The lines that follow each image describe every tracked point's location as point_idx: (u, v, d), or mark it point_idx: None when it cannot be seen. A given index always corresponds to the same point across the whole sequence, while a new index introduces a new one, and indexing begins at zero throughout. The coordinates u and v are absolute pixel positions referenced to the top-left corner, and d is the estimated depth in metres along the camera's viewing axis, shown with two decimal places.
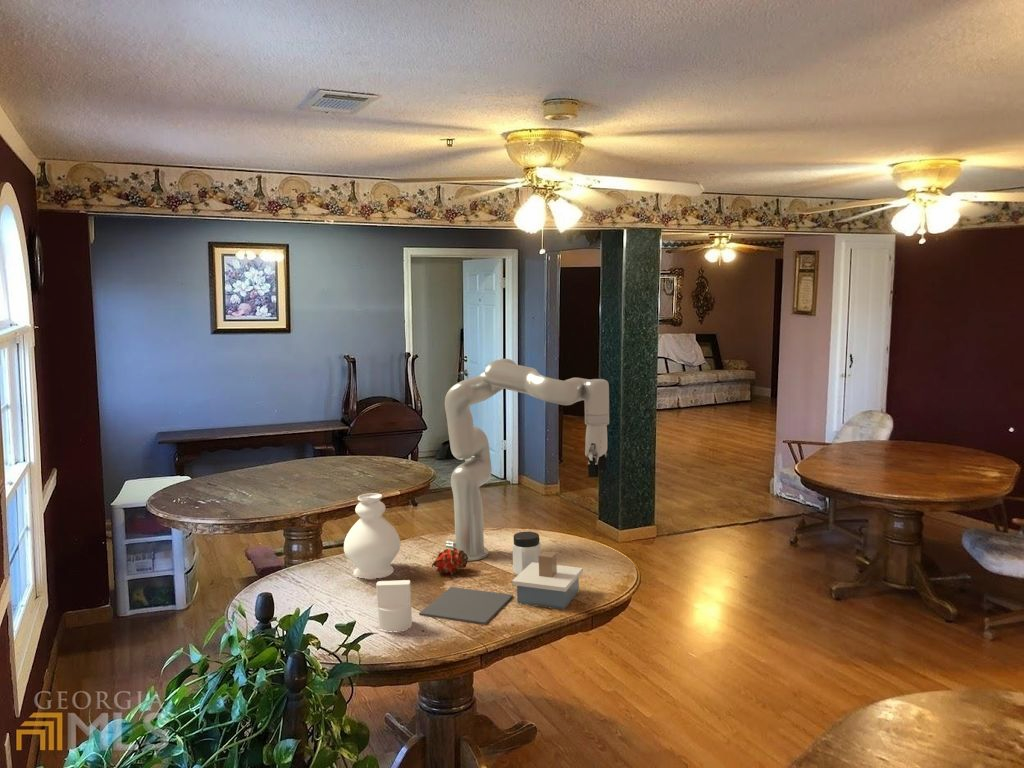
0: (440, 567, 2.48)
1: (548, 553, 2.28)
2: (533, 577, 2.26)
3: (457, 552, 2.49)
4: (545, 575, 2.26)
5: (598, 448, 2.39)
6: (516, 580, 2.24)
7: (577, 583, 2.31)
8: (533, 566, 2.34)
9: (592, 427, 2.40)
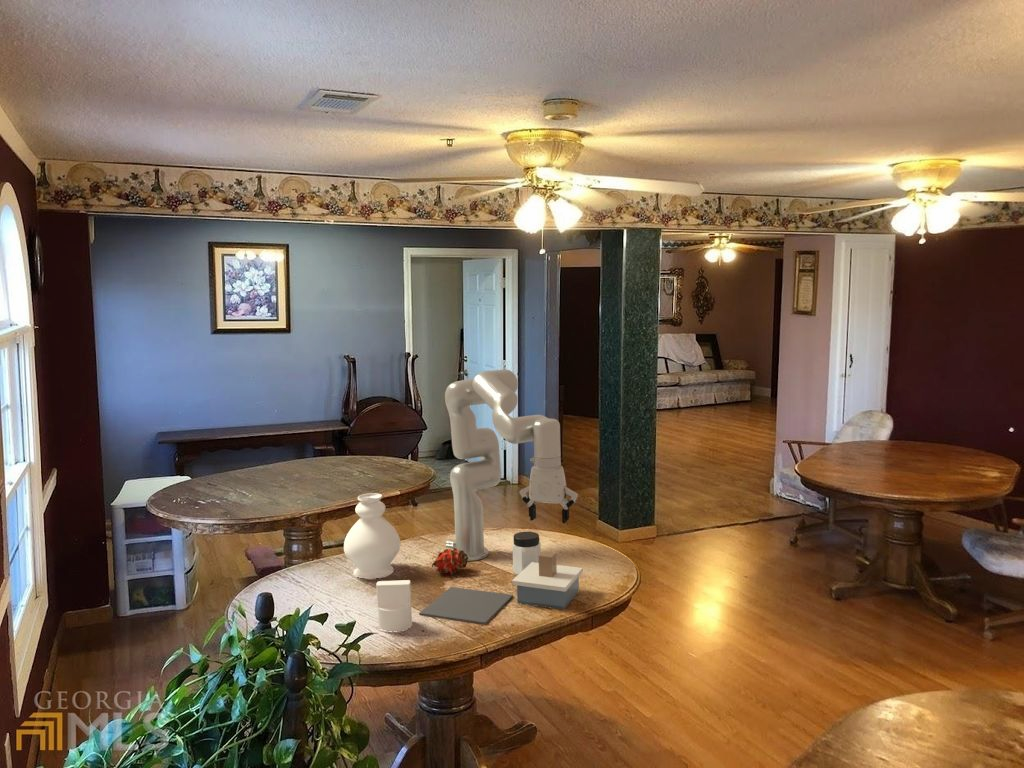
0: (440, 567, 2.48)
1: (548, 553, 2.28)
2: (533, 577, 2.26)
3: (457, 552, 2.49)
4: (545, 575, 2.26)
5: None
6: (516, 580, 2.24)
7: (577, 583, 2.31)
8: (533, 566, 2.34)
9: (562, 470, 2.23)
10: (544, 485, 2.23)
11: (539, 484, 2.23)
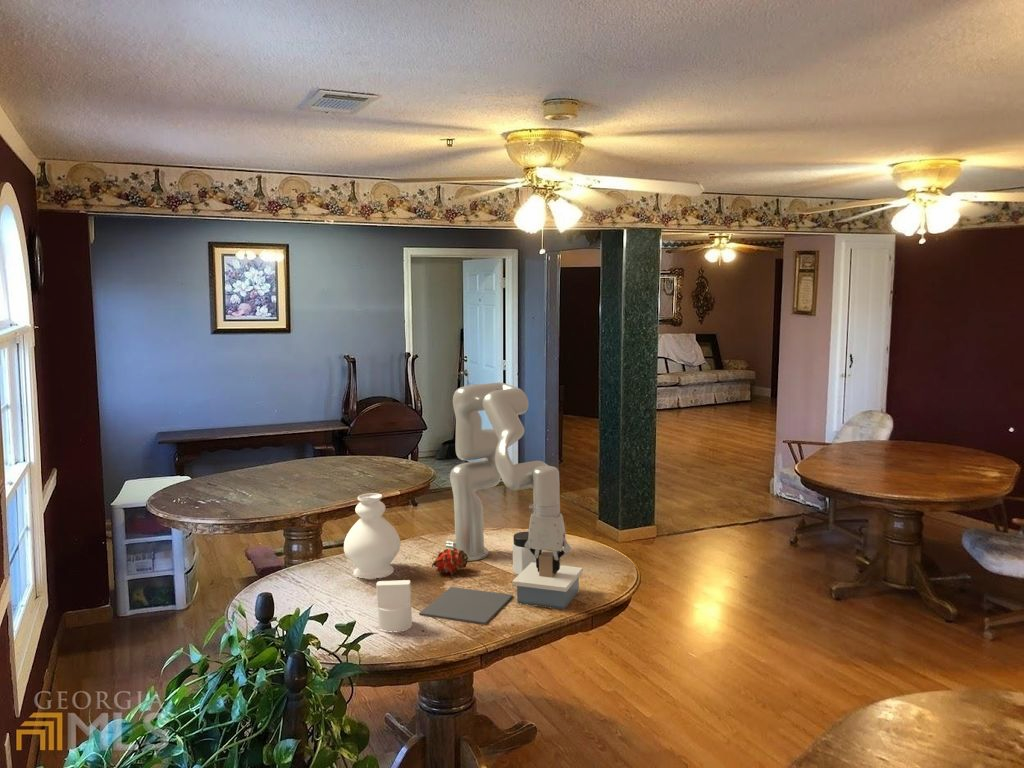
0: (440, 567, 2.48)
1: (548, 553, 2.28)
2: (533, 577, 2.25)
3: (457, 552, 2.49)
4: (545, 575, 2.26)
5: (565, 536, 2.26)
6: (516, 580, 2.23)
7: (577, 583, 2.31)
8: (533, 566, 2.34)
9: (561, 517, 2.24)
10: (543, 533, 2.24)
11: (538, 531, 2.24)
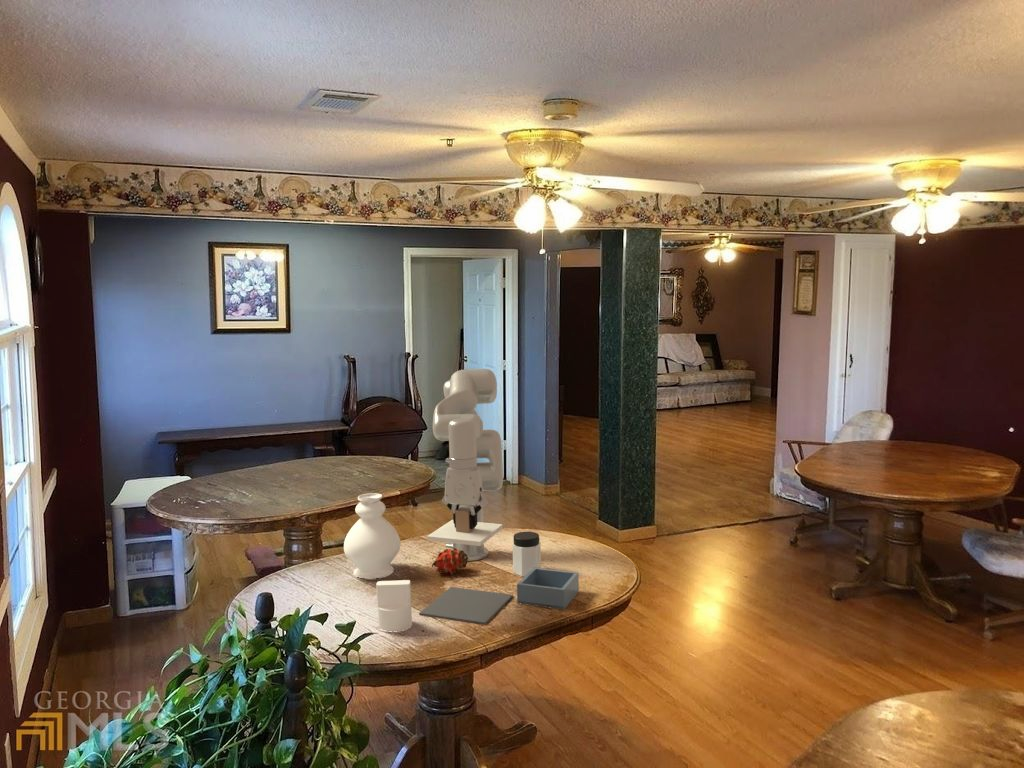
0: (440, 567, 2.48)
1: (466, 508, 2.21)
2: (449, 533, 2.19)
3: (457, 552, 2.49)
4: (462, 531, 2.19)
5: (482, 491, 2.20)
6: (431, 535, 2.17)
7: (577, 583, 2.31)
8: (452, 523, 2.28)
9: (478, 471, 2.17)
10: (459, 487, 2.17)
11: (454, 485, 2.18)
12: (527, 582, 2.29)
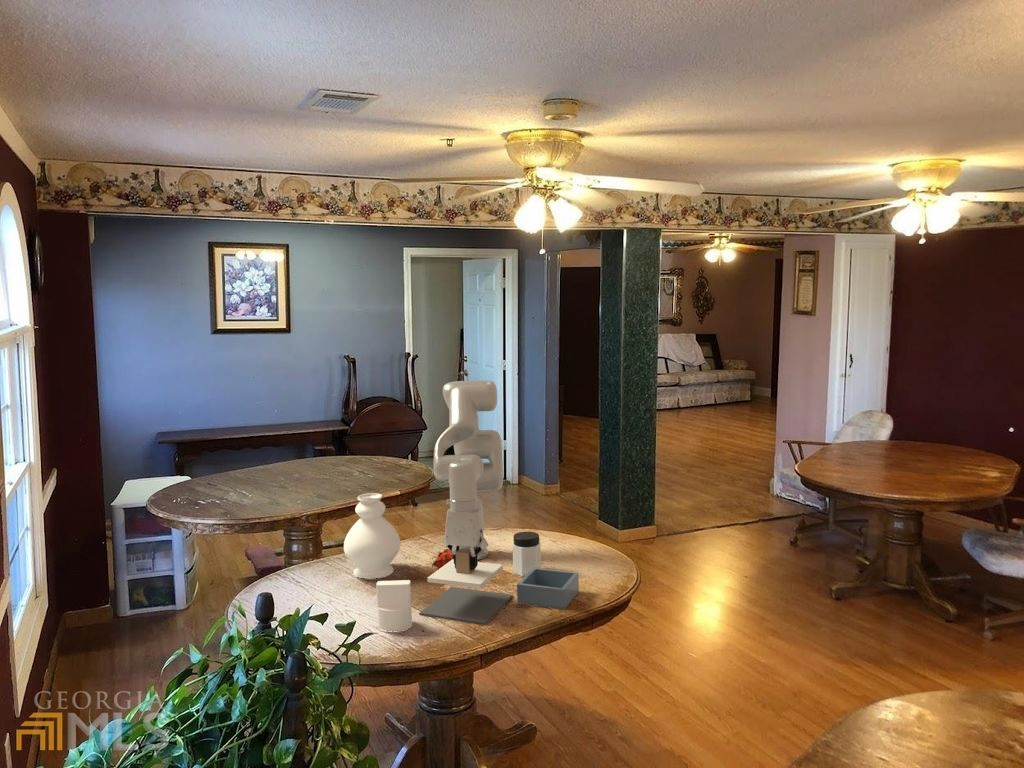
0: (440, 567, 2.48)
1: (466, 549, 2.22)
2: (449, 574, 2.20)
3: None
4: (462, 572, 2.20)
5: (482, 532, 2.21)
6: (432, 577, 2.18)
7: (577, 583, 2.31)
8: (452, 563, 2.29)
9: (478, 512, 2.19)
10: (459, 528, 2.19)
11: (455, 527, 2.19)
12: (527, 582, 2.29)
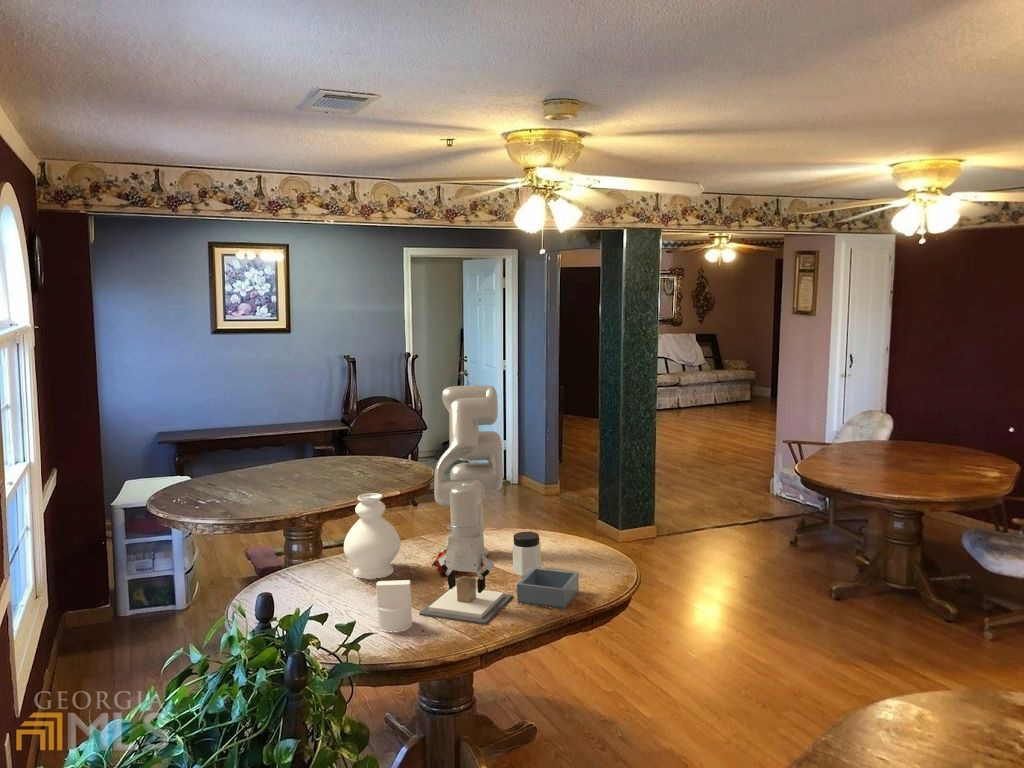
0: (440, 567, 2.48)
1: (467, 578, 2.24)
2: (450, 603, 2.21)
3: None
4: (463, 601, 2.22)
5: None
6: (433, 606, 2.20)
7: (577, 583, 2.31)
8: (454, 591, 2.30)
9: (479, 538, 2.19)
10: (460, 554, 2.20)
11: (455, 552, 2.20)
12: (527, 582, 2.29)
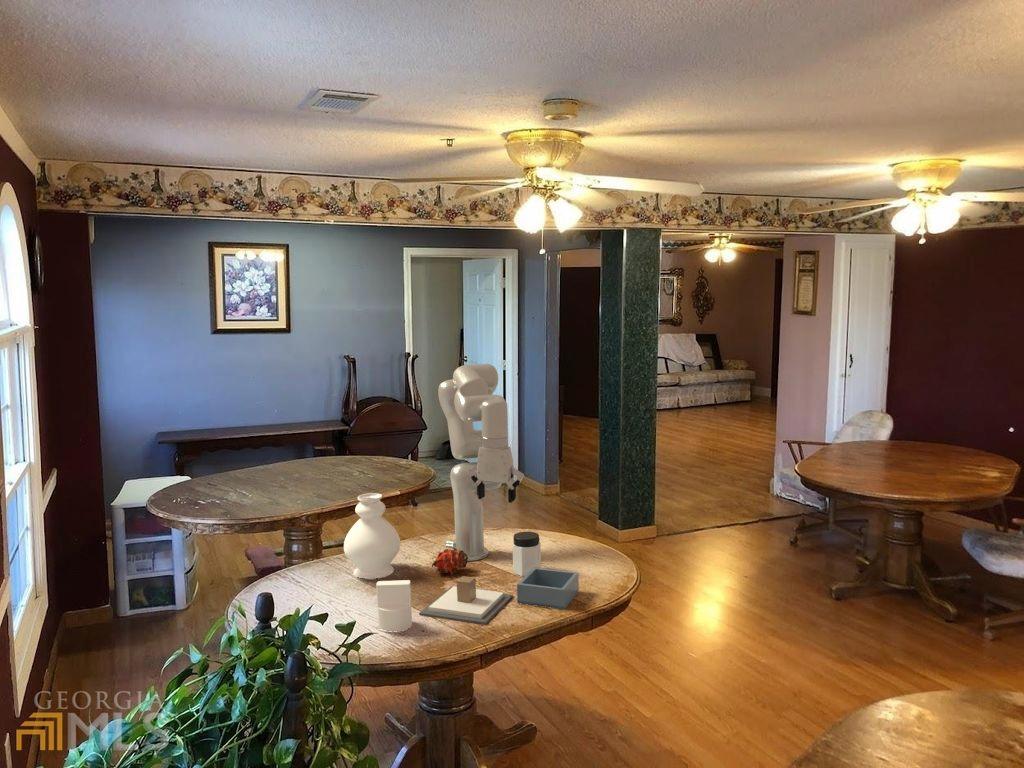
0: (440, 567, 2.48)
1: (467, 578, 2.24)
2: (450, 603, 2.21)
3: (457, 552, 2.49)
4: (463, 601, 2.22)
5: None
6: (433, 606, 2.20)
7: (577, 583, 2.31)
8: (454, 591, 2.30)
9: (509, 450, 2.25)
10: (491, 465, 2.25)
11: (486, 463, 2.26)
12: (527, 582, 2.29)
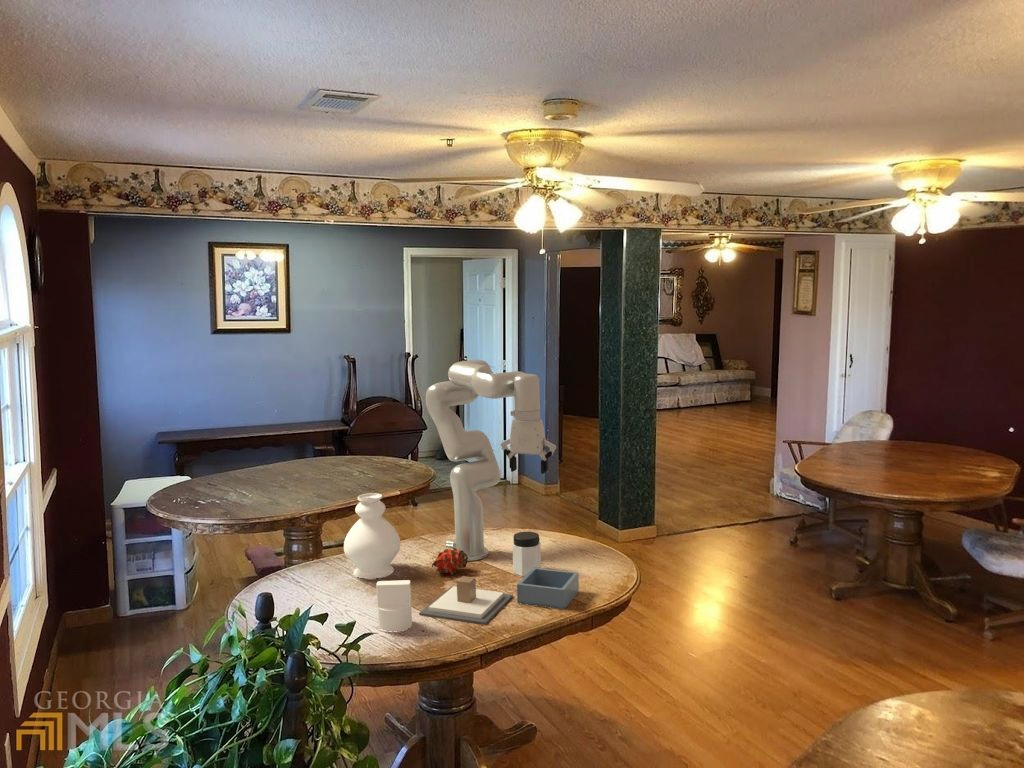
0: (440, 567, 2.48)
1: (467, 578, 2.24)
2: (450, 603, 2.21)
3: (457, 552, 2.49)
4: (463, 601, 2.22)
5: None
6: (433, 606, 2.20)
7: (577, 583, 2.31)
8: (454, 591, 2.30)
9: (541, 422, 2.33)
10: (524, 437, 2.33)
11: (519, 436, 2.33)
12: (527, 582, 2.29)
